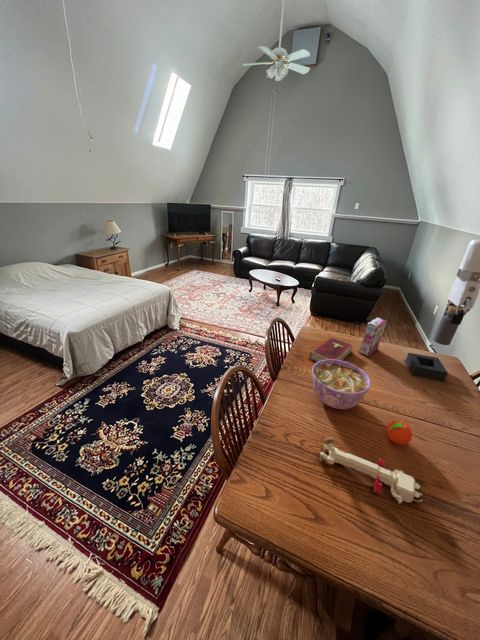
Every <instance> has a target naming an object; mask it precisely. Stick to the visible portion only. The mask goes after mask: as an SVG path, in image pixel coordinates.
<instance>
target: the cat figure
mask: <svg viewBox="0 0 480 640" xmlns="http://www.w3.org/2000/svg"><path fill="white" fill-rule="evenodd" d="M334 443H335V439H334V437H332V436H329V437H328V436H327V437H326V438H324V440H323V448H322V451H320V453H319V458H318V461H319V462H321V463H323V462H324V461H327V463H328V464H330V465H331V466H333V465H335V463H336V464H340V465H342V466H345V467H347V468H352V469H354V470H356V471H359V472H361V473H363V474H366V475H368V476H370V477H372V478H373V479H375V482H374V487H373V493H375V494H379V495H381V493H382V488H383V483H384V485H387V486H389V487H390V493H391V496H392V497H393V498H395V501H397V503H398V504H399V505H401V504H402V503H404V502H406V503H408V504H409V503H413V501H414V502H418V503H419V502H420V503H422V502H423V499H422V496H423V493H421V491H422V486H420V484H419V483H417V482H416V479H415V478H414V477H413V476H411V475H408V474H406V473H405V472H404V471H403V470H399V469H393V471H391V470H390V469H387V468H384V467H385V466H386V462H385V460H383V459H382V458H381V457H379V458H378V462H377V463H374V462H372V461H369V460H367V459H364V458H362V457H360V456H357V455H354V454H352V453H347V452H345V451H342V450H340V449H339V448H337V447H335V446H333V444H334ZM327 451H328V455H327ZM379 481H380V482H379Z"/></svg>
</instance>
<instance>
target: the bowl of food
mask: <svg viewBox="0 0 480 640" xmlns="http://www.w3.org/2000/svg"><path fill="white" fill-rule="evenodd" d="M311 376H312V387H313V392H314V393H315V395H316V397H317V398H318V400H319V401H320V402H321V403H323V404H324V405H326V406H328V407H330V408H332V409H336V410H348V409H352V408H354V407H356V406H357V405H358V404H359V403H360V402H361V401H362V399H363V398H364V396H365V395H366V394H367V393H368V391H369V390H370V387H371V385H372V382H371V378H370V376H369V374H367V372H366V371H364V369H361V368H360V367H358V366H357V365H355V364H353V363H351V362H348V361H345V360H343V361H341V360H335V359H326V360H321V361H319V362H315V363H314V365H312V369H311Z"/></svg>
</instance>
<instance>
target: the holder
mask: <svg viewBox="0 0 480 640" xmlns="http://www.w3.org/2000/svg"><path fill="white" fill-rule="evenodd" d="M405 363H406V365H407V367H408V369H409V371H410V374H411V376H415V377H419V378H424V379H430V380H435V381H439V382H440V381H441V382H445V380H446V378H447V376H448V373H449V372H448V371H447V369H446V367H445V366H444V364H443V363H442V361H441V360H440V359H439V357H436V356H430V355H425V354H418V353H413V352H408V353H407V355H406V357H405Z"/></svg>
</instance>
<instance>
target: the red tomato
mask: <svg viewBox="0 0 480 640" xmlns="http://www.w3.org/2000/svg"><path fill="white" fill-rule="evenodd" d="M385 430H386V436H387V437H388V439H389V440H390V441H391V442H393V443H395V444H396V445H400V446H401V445H408V443H410V442H411V441H412V438H413V431H412V429H411V426H409V425H408V424H407V423H406V422H405V421H403V420H391V421H390V422H388V424H387V425H386V429H385Z"/></svg>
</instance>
